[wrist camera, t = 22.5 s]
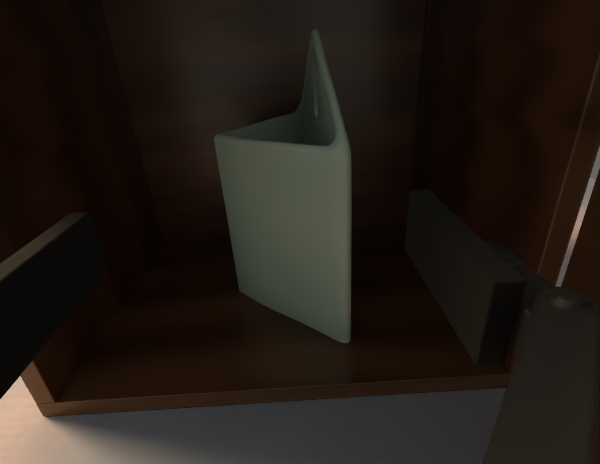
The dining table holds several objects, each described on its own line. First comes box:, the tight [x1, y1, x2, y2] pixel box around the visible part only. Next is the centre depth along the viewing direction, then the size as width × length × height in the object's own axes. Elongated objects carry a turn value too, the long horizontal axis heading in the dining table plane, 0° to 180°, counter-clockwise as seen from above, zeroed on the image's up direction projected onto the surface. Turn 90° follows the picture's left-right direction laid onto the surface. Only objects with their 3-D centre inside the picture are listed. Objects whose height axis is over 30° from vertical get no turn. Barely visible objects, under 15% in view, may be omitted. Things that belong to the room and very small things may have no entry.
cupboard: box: [0, 0, 600, 416], centre depth 25 cm, size 22×30×30 cm
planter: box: [214, 29, 352, 343], centre depth 27 cm, size 16×8×20 cm, turn 9°
